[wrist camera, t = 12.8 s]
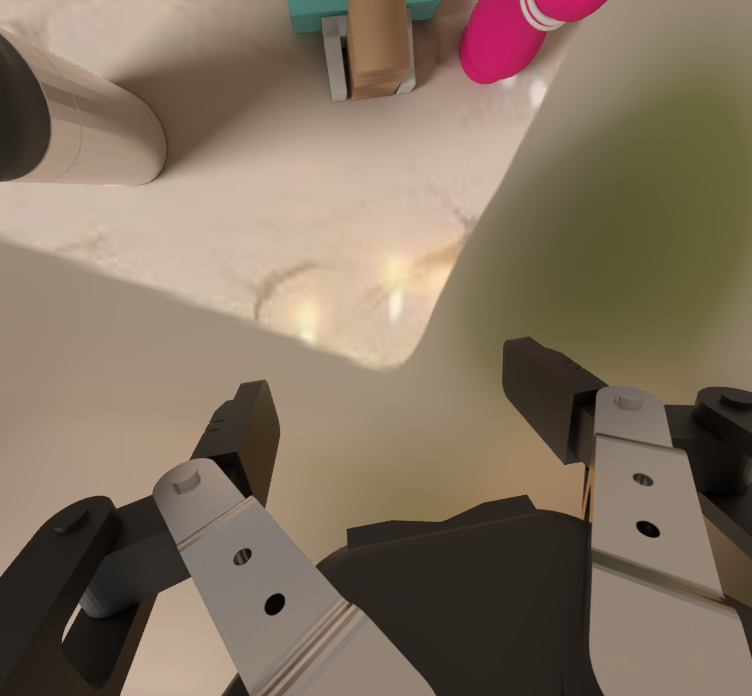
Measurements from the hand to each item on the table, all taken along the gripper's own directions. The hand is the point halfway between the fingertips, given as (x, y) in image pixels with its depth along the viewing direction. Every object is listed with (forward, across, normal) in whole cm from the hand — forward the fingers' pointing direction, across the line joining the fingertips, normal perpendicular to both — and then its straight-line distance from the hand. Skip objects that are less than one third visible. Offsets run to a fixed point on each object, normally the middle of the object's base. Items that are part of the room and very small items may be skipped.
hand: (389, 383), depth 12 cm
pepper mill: (+36, -18, -18) cm, 44 cm away
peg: (+36, -5, -17) cm, 40 cm away
